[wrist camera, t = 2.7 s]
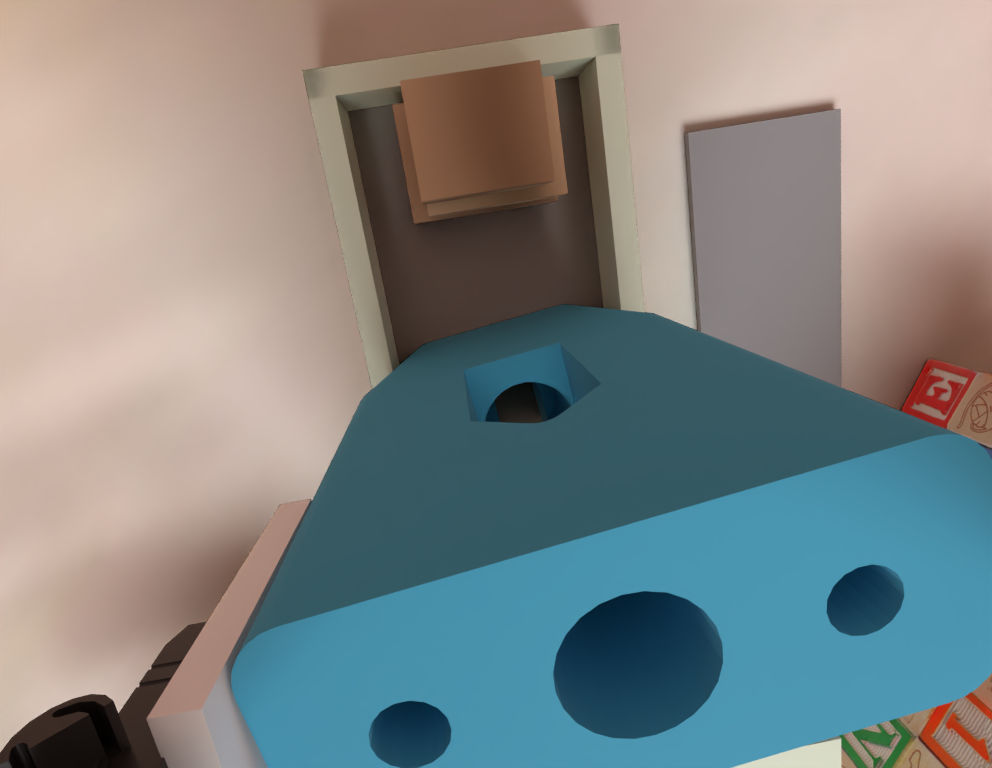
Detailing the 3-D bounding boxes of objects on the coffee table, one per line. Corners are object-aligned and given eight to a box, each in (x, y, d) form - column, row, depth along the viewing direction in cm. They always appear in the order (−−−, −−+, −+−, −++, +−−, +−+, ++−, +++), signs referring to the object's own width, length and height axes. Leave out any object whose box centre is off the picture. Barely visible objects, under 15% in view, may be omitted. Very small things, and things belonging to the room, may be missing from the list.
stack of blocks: (923, 353, 30) (1230, 432, 19) (1019, 392, 31) (1369, 490, 20) (742, 690, 35) (897, 928, 23) (832, 714, 36) (1024, 953, 24)
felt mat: (704, 426, 30) (707, 428, 30) (684, 134, 27) (688, 132, 26) (836, 402, 31) (840, 404, 30) (834, 110, 27) (840, 108, 26)
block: (615, 288, 28) (992, 417, 9) (636, 386, 29) (1005, 685, 10) (371, 358, 28) (210, 645, 9) (403, 454, 29) (325, 888, 10)
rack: (415, 542, 30) (387, 863, 15) (318, 89, 25) (114, -142, 9) (643, 500, 31) (841, 769, 16) (598, 47, 25) (838, -237, 10)
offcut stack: (416, 224, 27) (406, 222, 19) (396, 116, 25) (377, 71, 18) (548, 202, 27) (586, 193, 20) (534, 95, 26) (570, 42, 18)
